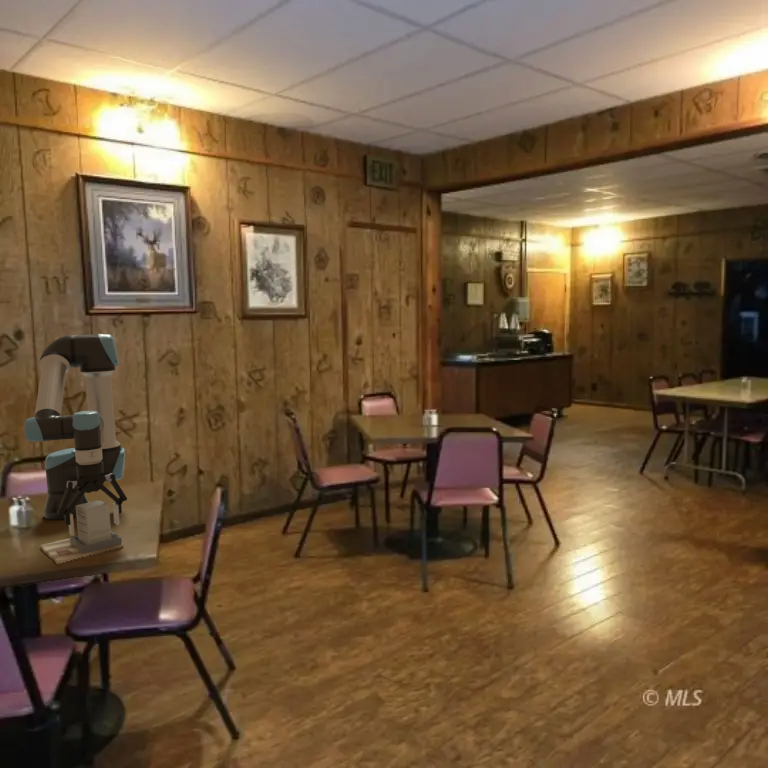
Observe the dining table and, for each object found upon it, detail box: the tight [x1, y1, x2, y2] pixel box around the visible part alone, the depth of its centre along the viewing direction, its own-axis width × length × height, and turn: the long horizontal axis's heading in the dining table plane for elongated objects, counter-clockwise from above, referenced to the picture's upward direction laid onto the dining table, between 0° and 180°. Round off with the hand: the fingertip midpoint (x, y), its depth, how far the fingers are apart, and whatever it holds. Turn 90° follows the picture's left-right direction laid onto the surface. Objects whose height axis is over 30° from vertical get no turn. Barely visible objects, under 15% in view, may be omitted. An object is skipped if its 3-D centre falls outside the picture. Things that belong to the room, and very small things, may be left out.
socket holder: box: [70, 530, 123, 554], centre depth 201 cm, size 12×12×2 cm
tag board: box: [39, 537, 124, 565], centre depth 201 cm, size 18×19×1 cm
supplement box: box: [76, 499, 112, 546], centre depth 201 cm, size 7×7×13 cm
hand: (94, 529), depth 201 cm, fingers open, 13 cm apart
